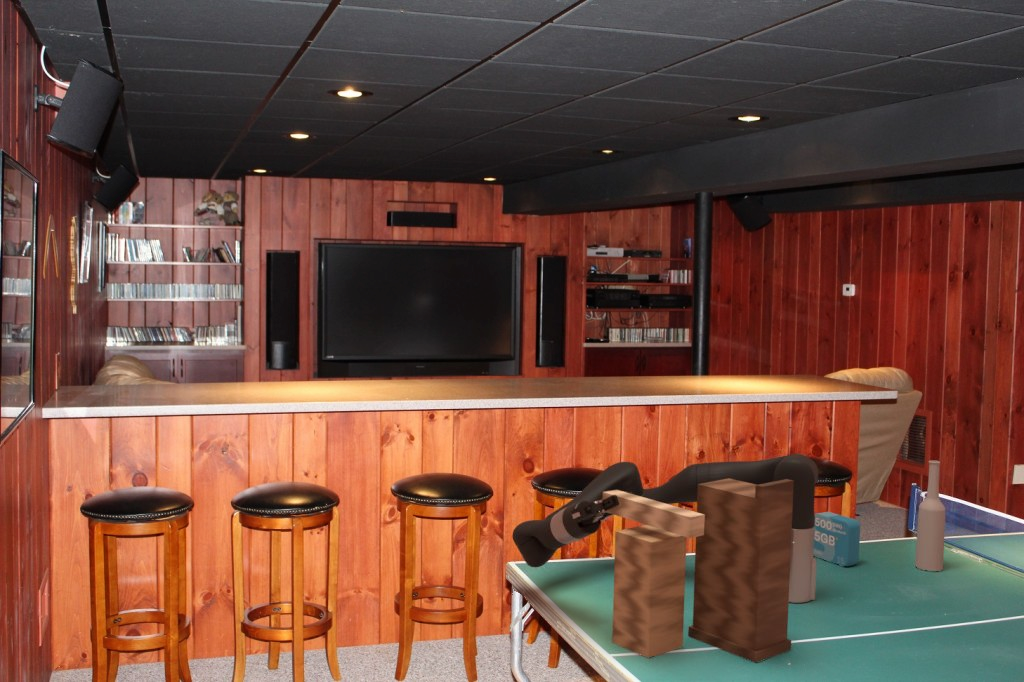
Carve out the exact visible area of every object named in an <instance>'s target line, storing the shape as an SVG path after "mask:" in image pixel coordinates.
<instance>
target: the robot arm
mask: <svg viewBox="0 0 1024 682" xmlns="http://www.w3.org/2000/svg"><path fill="white" fill-rule="evenodd" d="M729 478H730V479H734V480H738V481H743V482H747V483H752V484H756V485H759V484H765V483H770V482H775V481H780V480H785V479H789V480H793V481H794V486H793V510H792V533H791V557H790V581H789V603H798V604H799V603H800V604H801V603H806V602H809V601H815V600H816V582H817V558H816V557H814V556H813V548H814V526H815V514H816V513H815V492H816V491H815V490H816V483H817V481H818V478H819V469H818V465H817V464H816V463H815V461H814V460H812V459H811V458H810V457H809V456H807V455H805V454H800V453H792V454H787V455H783V456H777V457H774V458H767V459H761V460H750V461H749V460H746V461H745V460H744V461H743V460H741V461H740V460H739V461H733V460H732V461H714V462H713V461H712V462H703V463H702V462H701V463H700V462H699V463H693V464H690V465H688V466H686V467H685V468H683V469H682V470H680V471H679V472H678V473H677V474H676V475H674V476H673V477H672V478H671V479H669V480H668V481H666V482H665V483H663V484H662V485H659V486H656V487H652V488H651V487H650V488H644V487H643V483H642V479H641V475H640V471H639V468H638V465H636V464H635V463H633V462H630V461H620V462H616V463H614V464H611V465H609V466H608V467H607V468H605V469H604V470H603V471H601V472H600V473H599V475H597V476H596V477H595V478H594V479H592V481H591V482H589V484H588V485H587V486H586V487H584V488H583V489H582V490H581V491H580V492H579V493H578V494H577V495H576V496H575V497H574V498H572V499H571V500H570V501H568V502H567V503H565V504H564V505H562V506H560V507H559V508H558V509H556V510H554V511H553V512H551V513H550V514H548V515H547V516H546V517H545V518H544V519H532V520H526V521H523V522H520V523H519V524H518V525H516V526H515V527H514V529H513V530H512V536H511V538H512V541H513V543H514V545H515V546H516V548H517V550H518V551H519V553H520V555H521V557H522V559H523V560H524V562H525V563H526V565H528V566H529V567H531V568H539V567H543V566H544V565H546V564H547V563H548V562H549V561H550V559H551V558H552V557H553V556H554V554H555V553H556V552H557V550H559V549H560V548H563V547H565V546H567V545H568V544H572V543H575V542H578V541H580V540H582V539H585V538H586V537H589V536H591V535H593V534H595V533H597V532H598V530H599V529H600V527H601V524H602V522H604V521H607V520H608V519H609V518H610V517H613V516H615V515H614V514H610V513H607V512H606V510H609V509H611V508H613V507H615V506H617V505H619V501H618V498H617V495H612V496H610V497H608V498H606V499H604V500H603V492H606V491H612V490H620V491H623V492H627V493H630V494H634V495H637V496H641V497H644V498H648V499H651V500H655V501H658V502H662V503H666V504H669V505H672V504H673V505H674V504H685V503H697V491H698V484H702V483H707V482H712V481H718V480H723V479H729Z"/></svg>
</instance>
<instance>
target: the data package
mask: <svg viewBox="0 0 1024 682" xmlns="http://www.w3.org/2000/svg"><path fill="white" fill-rule="evenodd" d="M814 514H815V526H814V548H813V557H814V556H816V557H818V558H822V559H824V560H828V561H831V562H834V563H837V564H840V565H842V566H847V567H851V566H856V565H857V564H858V563H859V561H860V540H861V524H860V522H859V521H858V520H857V519H855V518H852V517H848V516H844V515H841V514H838V513H834V512H831V511H825V512H817V513H814ZM816 557H815V558H816ZM818 558H817V559H818ZM824 560H823V561H824ZM855 564H856V565H855ZM842 566H841V567H842Z"/></svg>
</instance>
